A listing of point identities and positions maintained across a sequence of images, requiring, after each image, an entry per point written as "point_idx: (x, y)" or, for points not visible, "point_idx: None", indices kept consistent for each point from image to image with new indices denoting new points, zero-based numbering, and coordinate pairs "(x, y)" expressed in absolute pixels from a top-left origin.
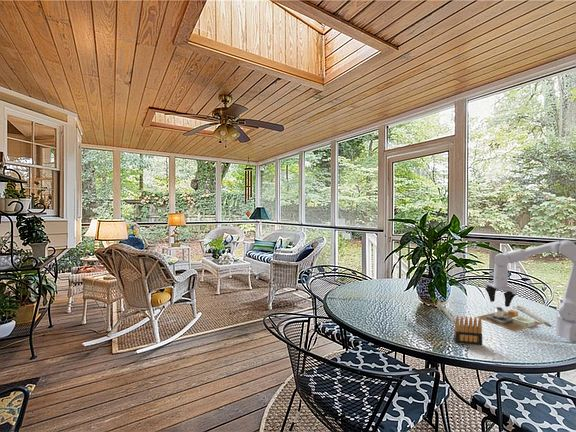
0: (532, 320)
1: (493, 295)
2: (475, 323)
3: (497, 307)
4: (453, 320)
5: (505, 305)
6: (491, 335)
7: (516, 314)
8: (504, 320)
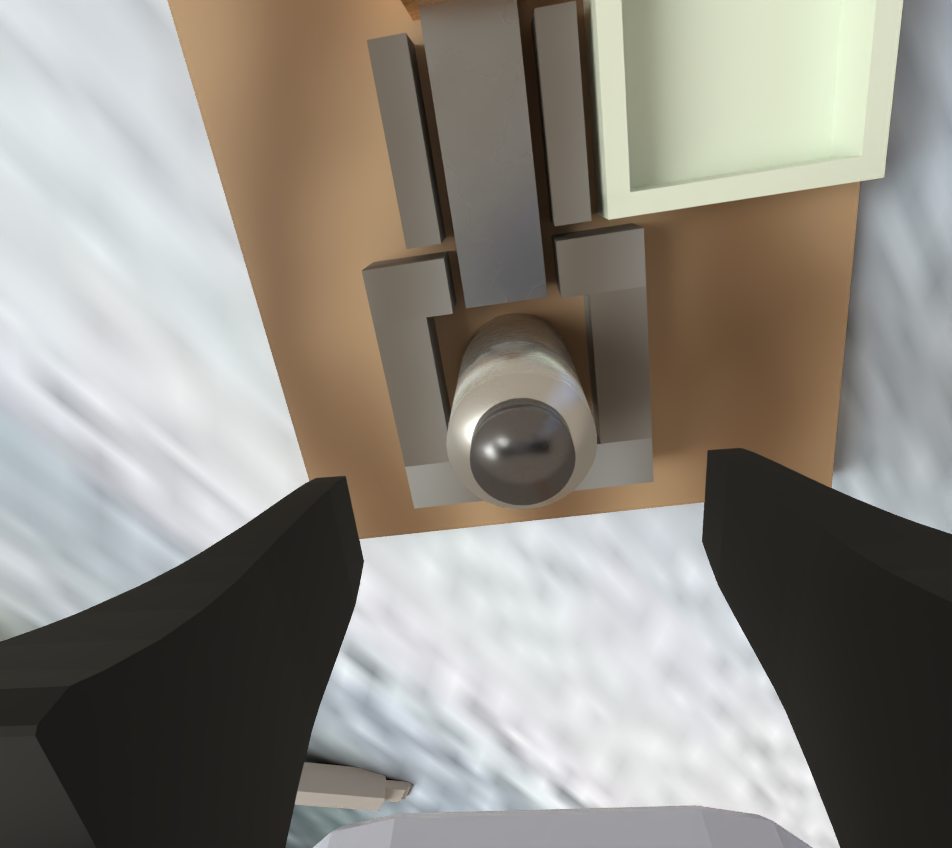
0: None
1: (288, 604)
2: None
3: (490, 475)
4: (379, 806)
5: (720, 564)
6: (727, 710)
7: None
8: (618, 397)
